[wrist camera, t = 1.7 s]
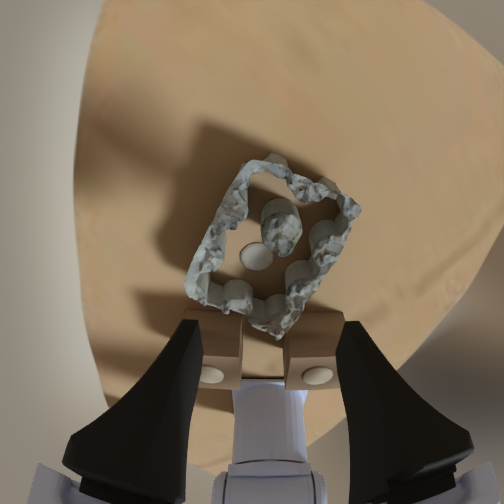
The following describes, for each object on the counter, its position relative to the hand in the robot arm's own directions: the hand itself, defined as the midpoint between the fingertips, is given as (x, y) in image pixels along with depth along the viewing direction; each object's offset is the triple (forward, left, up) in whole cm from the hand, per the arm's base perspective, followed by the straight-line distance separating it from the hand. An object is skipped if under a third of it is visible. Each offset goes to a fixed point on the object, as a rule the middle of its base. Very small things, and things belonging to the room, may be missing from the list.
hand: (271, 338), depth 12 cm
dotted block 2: (-9, -4, -8) cm, 13 cm away
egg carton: (0, 0, -9) cm, 9 cm away
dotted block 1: (-9, +4, -8) cm, 13 cm away
